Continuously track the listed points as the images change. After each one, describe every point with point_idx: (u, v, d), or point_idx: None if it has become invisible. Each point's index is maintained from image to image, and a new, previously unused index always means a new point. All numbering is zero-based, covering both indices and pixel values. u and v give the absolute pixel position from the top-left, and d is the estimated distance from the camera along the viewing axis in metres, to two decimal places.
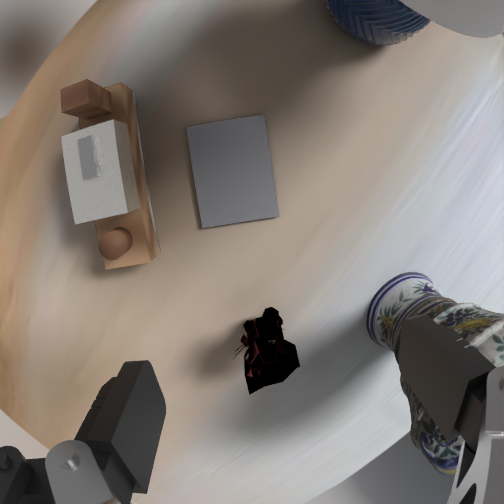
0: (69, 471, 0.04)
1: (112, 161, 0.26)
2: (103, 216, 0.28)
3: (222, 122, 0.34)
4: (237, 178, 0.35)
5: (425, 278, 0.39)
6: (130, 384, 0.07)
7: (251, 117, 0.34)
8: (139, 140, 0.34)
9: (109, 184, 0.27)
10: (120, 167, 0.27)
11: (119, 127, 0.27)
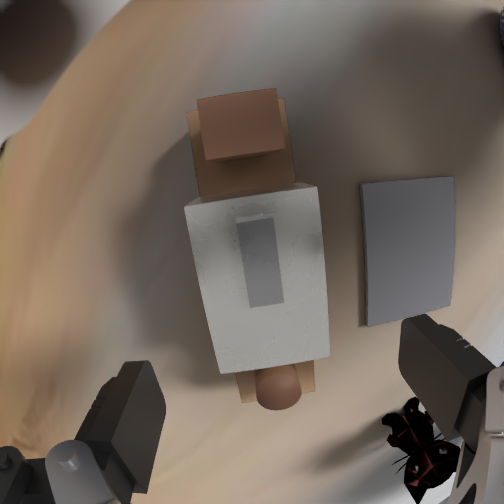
0: (69, 471, 0.04)
1: (311, 272, 0.15)
2: (282, 363, 0.16)
3: (409, 182, 0.22)
4: (418, 261, 0.24)
5: None
6: (130, 384, 0.07)
7: (441, 179, 0.22)
8: None
9: (301, 314, 0.15)
10: (325, 281, 0.15)
11: None
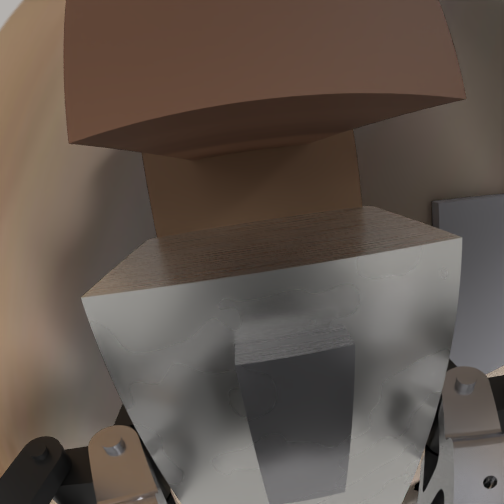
0: (117, 456, 0.05)
1: (409, 426, 0.05)
2: None
3: (495, 200, 0.13)
4: (494, 311, 0.14)
5: None
6: None
7: None
8: None
9: (369, 484, 0.06)
10: (424, 428, 0.06)
11: None
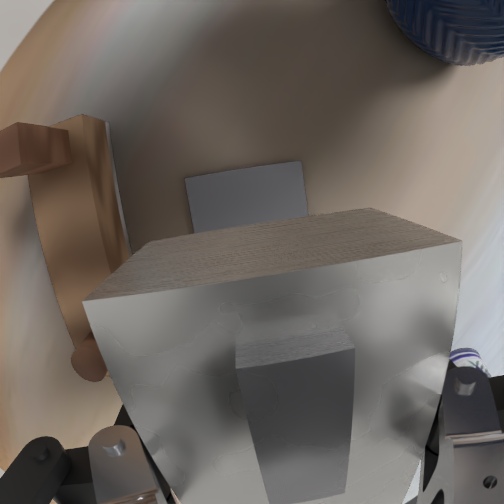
0: (117, 456, 0.05)
1: (408, 428, 0.05)
2: None
3: (238, 171, 0.23)
4: None
5: (474, 354, 0.29)
6: None
7: (282, 164, 0.23)
8: (117, 196, 0.24)
9: (369, 485, 0.06)
10: (423, 430, 0.06)
11: None
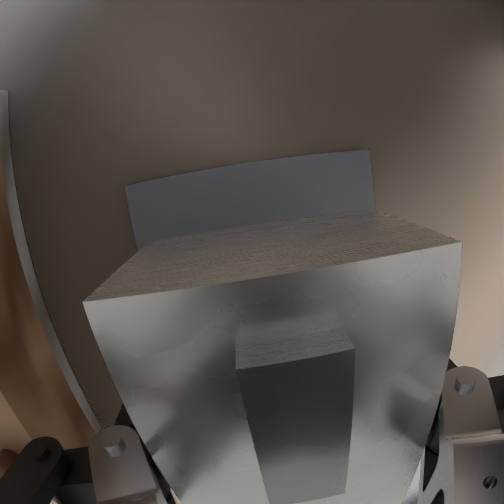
0: (117, 456, 0.05)
1: (407, 428, 0.05)
2: None
3: (238, 169, 0.11)
4: None
5: None
6: None
7: (332, 156, 0.11)
8: (15, 224, 0.11)
9: (369, 485, 0.06)
10: (423, 430, 0.06)
11: None
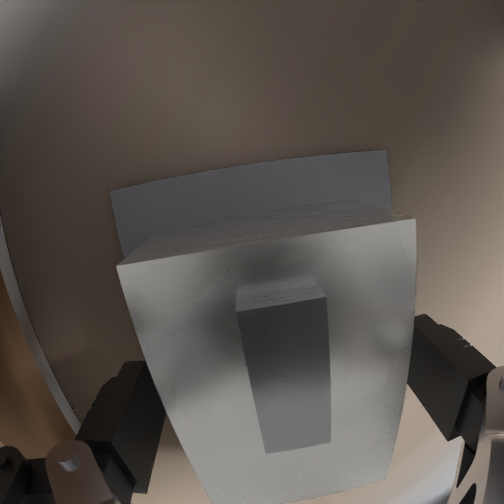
0: (69, 471, 0.04)
1: (384, 383, 0.07)
2: (314, 496, 0.08)
3: (239, 172, 0.09)
4: None
5: None
6: (130, 384, 0.07)
7: (345, 157, 0.09)
8: None
9: (354, 441, 0.07)
10: (401, 389, 0.07)
11: None
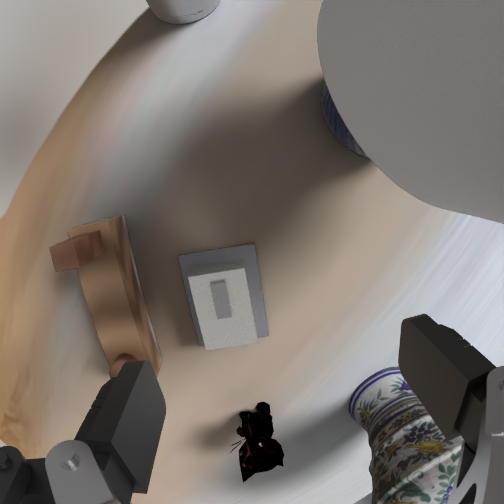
0: (69, 471, 0.04)
1: (244, 304, 0.34)
2: (235, 345, 0.35)
3: (213, 252, 0.36)
4: None
5: None
6: (130, 384, 0.07)
7: (241, 247, 0.36)
8: (134, 266, 0.37)
9: (241, 322, 0.34)
10: (251, 307, 0.34)
11: (245, 270, 0.34)
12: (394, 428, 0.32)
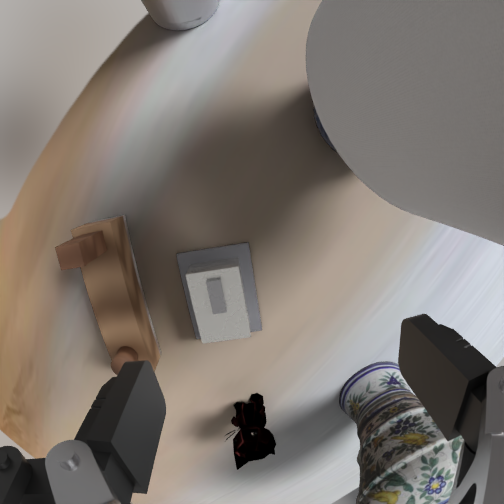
0: (69, 471, 0.04)
1: (238, 300, 0.36)
2: (229, 338, 0.37)
3: (209, 251, 0.38)
4: None
5: (393, 366, 0.44)
6: (130, 384, 0.07)
7: (236, 246, 0.38)
8: (134, 263, 0.39)
9: (235, 317, 0.36)
10: (245, 303, 0.36)
11: (239, 268, 0.36)
12: (381, 420, 0.34)
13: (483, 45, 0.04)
